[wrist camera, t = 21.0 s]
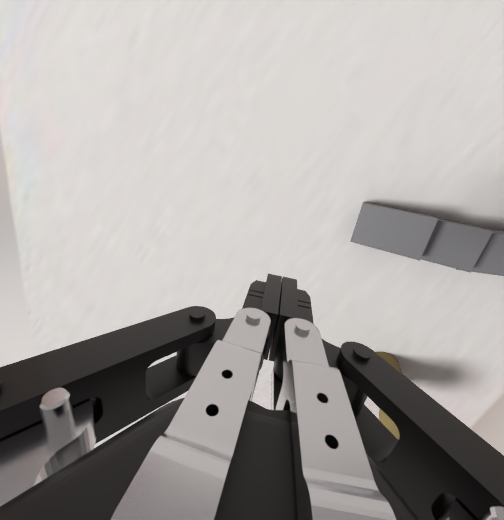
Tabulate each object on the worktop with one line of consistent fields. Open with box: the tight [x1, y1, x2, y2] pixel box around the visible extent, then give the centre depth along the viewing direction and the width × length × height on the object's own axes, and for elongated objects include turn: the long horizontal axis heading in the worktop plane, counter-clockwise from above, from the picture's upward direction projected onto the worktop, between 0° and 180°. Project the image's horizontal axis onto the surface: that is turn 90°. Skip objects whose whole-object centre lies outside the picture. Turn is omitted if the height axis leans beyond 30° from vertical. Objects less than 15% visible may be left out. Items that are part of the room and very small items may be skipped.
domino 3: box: [457, 230, 504, 276], centre depth 30 cm, size 5×2×8 cm
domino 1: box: [350, 202, 438, 260], centre depth 31 cm, size 5×2×8 cm
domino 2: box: [421, 219, 493, 272], centre depth 30 cm, size 5×2×8 cm
